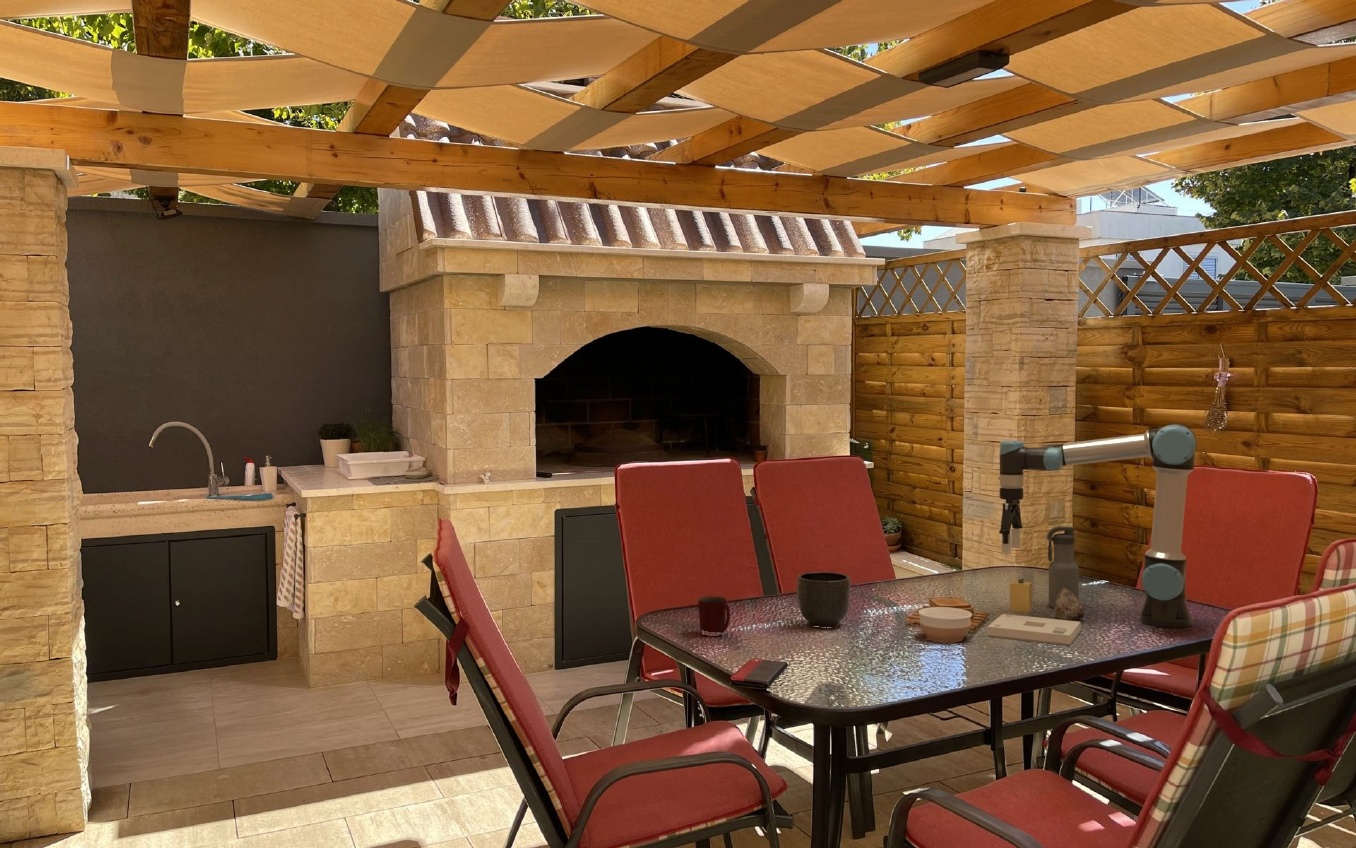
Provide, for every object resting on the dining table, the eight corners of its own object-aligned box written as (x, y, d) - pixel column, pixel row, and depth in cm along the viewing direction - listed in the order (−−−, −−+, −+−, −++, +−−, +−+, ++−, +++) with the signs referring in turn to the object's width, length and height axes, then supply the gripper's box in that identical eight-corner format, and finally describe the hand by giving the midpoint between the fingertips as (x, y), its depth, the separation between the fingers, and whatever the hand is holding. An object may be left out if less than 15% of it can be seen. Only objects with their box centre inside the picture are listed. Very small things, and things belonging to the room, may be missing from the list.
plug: (1031, 618, 339) (1032, 578, 339) (1028, 621, 335) (1028, 581, 334) (1013, 616, 342) (1013, 577, 342) (1009, 619, 338) (1010, 579, 337)
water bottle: (1049, 609, 352) (1049, 528, 351) (1045, 603, 362) (1046, 524, 361) (1080, 610, 350) (1080, 529, 349) (1076, 604, 359) (1076, 525, 358)
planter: (809, 617, 344) (809, 570, 343) (858, 623, 335) (858, 574, 334) (788, 627, 329) (788, 578, 328) (838, 634, 320) (838, 583, 320)
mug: (739, 636, 319) (739, 601, 318) (718, 640, 313) (718, 605, 313) (713, 629, 328) (713, 595, 328) (692, 633, 322) (692, 599, 322)
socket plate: (1080, 631, 321) (1080, 619, 321) (1069, 645, 303) (1069, 633, 303) (1002, 623, 333) (1002, 611, 333) (987, 636, 316) (987, 624, 315)
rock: (1057, 630, 334) (1076, 610, 329) (1036, 603, 341) (1054, 583, 336) (1074, 630, 339) (1093, 610, 334) (1053, 603, 346) (1071, 583, 341)
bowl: (908, 634, 319) (908, 609, 318) (951, 630, 324) (951, 605, 324) (938, 646, 304) (938, 620, 304) (983, 641, 309) (983, 615, 309)
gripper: (1008, 483, 353) (1008, 544, 353) (990, 490, 331) (990, 555, 332) (1031, 484, 349) (1030, 546, 349) (1014, 491, 327) (1014, 557, 328)
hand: (1011, 550), depth 341 cm, fingers open, 13 cm apart
